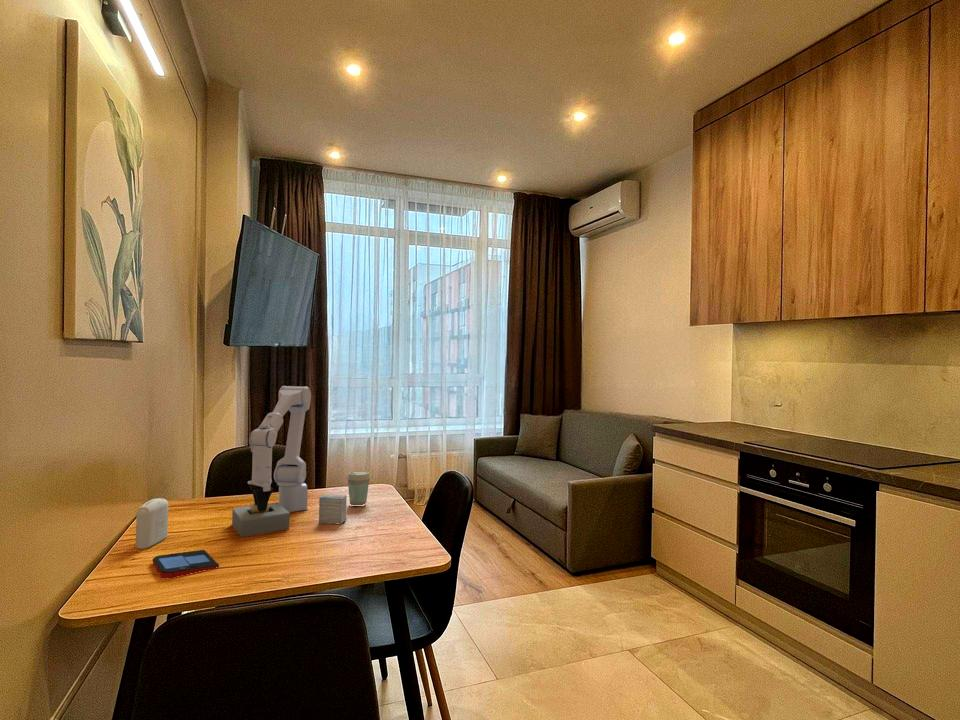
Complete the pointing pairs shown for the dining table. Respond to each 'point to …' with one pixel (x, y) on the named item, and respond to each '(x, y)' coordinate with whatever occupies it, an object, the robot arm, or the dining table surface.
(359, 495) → the coffee cup
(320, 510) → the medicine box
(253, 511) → the wooden block
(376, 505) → the dining table surface
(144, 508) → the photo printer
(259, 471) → the robot arm
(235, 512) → the money box
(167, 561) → the game console
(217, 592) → the dining table surface
